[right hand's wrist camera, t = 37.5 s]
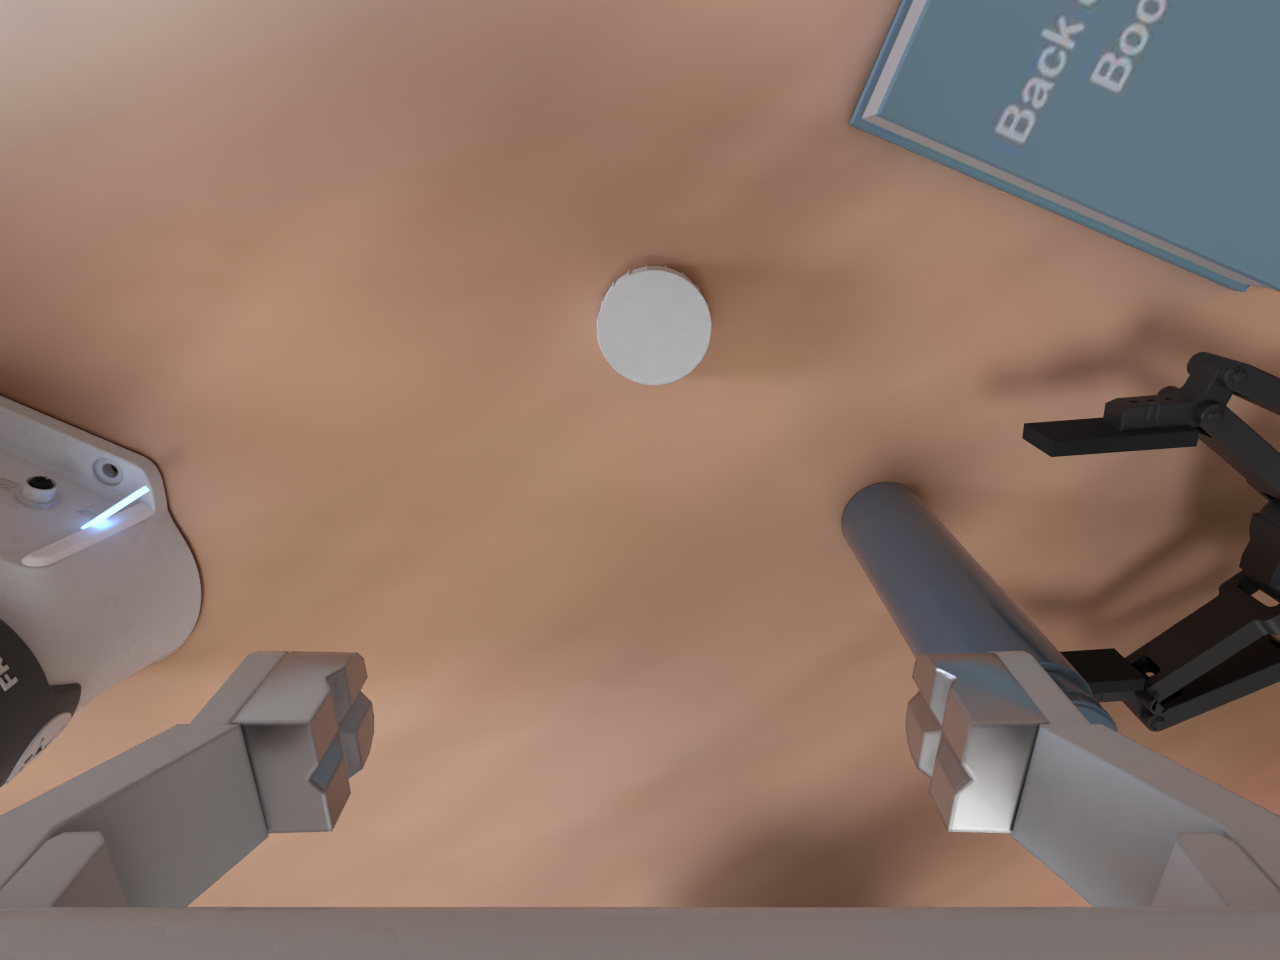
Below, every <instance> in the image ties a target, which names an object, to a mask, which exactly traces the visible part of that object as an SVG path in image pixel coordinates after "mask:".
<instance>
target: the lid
mask: <svg viewBox="0 0 1280 960" xmlns="http://www.w3.org/2000/svg"><path fill="white" fill-rule="evenodd" d="M699 290H700V289H699V287H698V285H697V284H696V285H695V284H694V283H693V282H692V281H691V280H690V279H689V278H687V277H686V276H685V274H684V273H683V272H682V273H680V272H678V271H676V270H673V269H671V268H667V266H665V265H664V267H663V266H648V265H646V267H640V268H637V269H634V270H632V271H630V270H629V271H628V272H627V273H626V274H625V275H623V276H622V277H620V278H619V279H618V280H617V281H616V282H613V283H612V286H611V288H610V289H609V291H608V292H607V294H606V296H605V297H603V298H602V301H601V303H602V306H601V309H600V312H599V315H598V317H597V320H596V322H597V334H598V339H597V340H598V341H599V344H600V347H601V350H602V352H603V354H604V356H605V358H606V359H607V361H608V362H609V364H610V365H611V366H612V367H613V368H614V369H615V370H616V371H617V372H618V373H619V374H621V375H622V376H624V377H625V378H627V379H629V380H631V381H634V382H637V383H640V384H645V385H663V384H668V383H671V382H674V381H677V380H679V379H681V378H683V377H684V376H686V375H687V374H689V373H690V372H691V371H692V370H693V369H694V368H695V367H696V366H697V365H698V364H699V363H700V361H701V360H702V359H703V357H704V355H705V353H706V351H707V349H708V346H709V344H710V339H711V331H712V322H711V315H710V312H709V308H708V307H709V305H708V303H707V301H705V299H704V298H703V296H702V294H701V293H700V291H699Z"/></svg>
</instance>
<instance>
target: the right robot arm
mask: <svg viewBox="0 0 1280 960" xmlns="http://www.w3.org/2000/svg"><path fill="white" fill-rule="evenodd" d="M111 464H112V465H114V466H115V467H116V468H117V470H118V473H117V472H115V471H114V470H113V469H112V467H111ZM200 606H201V583H200V577H199V572H198V569H197V566H196V563H195V560H194V557H193V555H192V553H191V551H190V549H189V547H188V545H187V543H186V541H185V540H184V538H183V536H182V535H181V533H180V532H179V530H178V528H177V527H176V525H175V523H174V522H173V520H172V518H171V516H170V514H169V511H168V507H167V501H166V495H165V489H164V485H163V481H162V477H161V475H160V472H159V470H158V469H157V467H156V466H155V465H154V463H152V462H151V461H150V460H149V459H147V458H145V457H144V456H141V455H139V454H137V453H135V452H132V451H130V450H127V449H125V448H123V447H120V446H118V445H116V444H113V443H111V442H109V441H106V440H104V439H102V438H99V437H97V436H94V435H92V434H90V433H87V432H85V431H83V430H80V429H78V428H76V427H73V426H71V425H69V424H66V423H64V422H61V421H59V420H57V419H54V418H52V417H50V416H47V415H45V414H43V413H40V412H38V411H36V410H33V409H31V408H28V407H26V406H24V405H21V404H19V403H17V402H14V401H12V400H10V399H7V398H5V397H2V396H0V787H1V786H3V785H4V784H5V783H6V784H8V783H9V782H10V781H11V780H13V779H14V778H15V777H16V776H17V775H18V774H19V773H20V772H21V771H22V770H23V769H25V768H26V767H27V766H28V765H29V764H30V763H31V762H32V761H33V760H34V759H35V758H36V757H37V756H38V755H39V754H40V753H41V752H42V751H43V750H44V749H45V748H47V747H48V746H49V745H50V744H51V743H52V742H53V741H54V740H55V739H56V738H57V737H58V736H59V735H60V733H61V732H62V731H63V730H64V729H65V728H66V726H67V725H68V723H69V722H70V720H71V718H72V716H73V715H74V713H76V712H77V711H78V710H79V709H81V708H82V707H83V706H85V705H86V704H88V703H89V702H90V701H92V700H93V699H95V698H96V697H98V696H99V695H100V694H102V693H103V692H105V691H106V690H108V689H109V688H111V687H112V686H114V685H115V684H117V683H118V682H120V681H122V680H123V679H125V678H127V677H128V676H130V675H132V674H133V673H135V672H137V671H139V670H141V669H143V668H145V667H147V666H149V665H151V664H153V663H156V662H158V661H160V660H162V659H164V658H166V657H167V656H169V655H170V654H172V653H173V652H174V651H176V650H177V649H178V648H179V647H180V646H181V645H182V644H183V643H184V642H185V641H186V640H187V638H188V637H189V635H190V634H191V632H192V630H193V629H194V626H195V624H196V622H197V619H198V616H199V612H200ZM366 679H367V672H366V667H365V663H364V658H363V657H362V656H361V655H360V654H358V653H345V652H298V651H292V652H287V651H257V652H254V653H252V654H249V655H248V656H247V657H246V658H245V659H244V661H243V662H242V663H241V664H240V665H239V666H238V668H237V669H236V670H235V671H234V672H233V673H232V675H231V676H230V677H229V678H228V679H227V680H226V682H225V683H224V684H223V685H222V686H221V687H220V689H219V690H218V691H217V692H216V693H215V695H214V696H213V697H212V698H211V699H210V700H209V702H208V703H207V704H206V705H205V706H204V707H203V709H202V710H201V711H200V712H199V713H198V714H197V716H196V717H195V718H194V719H193V720H192V722H191V723H190V724H178V725H176V726H174V727H172V728H170V729H168V730H166V731H164V732H162V733H160V734H158V735H156V736H154V737H152V738H150V739H148V740H147V741H145V742H143V743H141V744H139V745H137V746H135V747H133V748H131V749H129V750H127V751H125V752H123V753H121V754H119V755H117V756H115V757H114V758H112V759H110V760H108V761H106V762H104V763H102V764H100V765H98V766H96V767H94V768H92V769H90V770H88V771H86V772H84V773H83V774H81V775H79V776H77V777H75V778H73V779H71V780H69V781H67V782H65V783H63V784H61V785H59V786H57V787H55V788H53V789H52V790H50V791H48V792H46V793H44V794H42V795H40V796H38V797H36V798H34V799H32V800H30V801H28V802H26V803H24V804H22V805H21V806H19V807H17V808H15V809H13V810H11V811H9V812H7V813H5V814H3V815H1V816H0V960H1280V816H1278V815H1276V814H1274V813H1273V812H1271V811H1269V810H1267V809H1265V808H1263V807H1261V806H1259V805H1257V804H1255V803H1253V802H1251V801H1249V800H1247V799H1245V798H1244V797H1242V796H1240V795H1238V794H1236V793H1234V792H1232V791H1230V790H1228V789H1226V788H1224V787H1222V786H1220V785H1218V784H1217V783H1215V782H1213V781H1211V780H1209V779H1207V778H1205V777H1203V776H1201V775H1199V774H1197V773H1195V772H1193V771H1191V770H1189V769H1188V768H1186V767H1184V766H1182V765H1180V764H1178V763H1176V762H1174V761H1172V760H1170V759H1168V758H1166V757H1164V756H1162V755H1160V754H1159V753H1157V752H1155V751H1153V750H1151V749H1149V748H1147V747H1145V746H1143V745H1141V744H1139V743H1137V742H1135V741H1133V740H1131V739H1130V738H1128V737H1126V736H1124V735H1122V734H1120V733H1118V732H1116V731H1114V730H1112V729H1110V728H1108V727H1106V726H1104V725H1102V724H1090V723H1089V722H1088V720H1087V719H1086V718H1085V717H1084V716H1083V715H1082V713H1081V712H1080V711H1079V710H1078V709H1077V707H1076V706H1075V705H1074V704H1073V703H1072V702H1071V700H1070V699H1069V698H1068V697H1067V696H1066V695H1065V693H1064V692H1063V691H1062V690H1061V689H1060V688H1059V686H1058V685H1057V684H1056V683H1055V682H1054V681H1053V679H1052V678H1051V677H1050V676H1049V675H1048V674H1047V672H1046V671H1045V670H1044V669H1043V668H1042V666H1041V665H1040V664H1039V663H1038V662H1037V661H1036V659H1035V658H1034V657H1033V656H1032V655H1031V654H1029V653H1027V652H1025V651H1001V652H988V653H928V654H919V656H918V658H917V660H916V662H915V666H914V671H913V679H914V681H915V683H916V685H917V686H918V688H919V690H920V691H919V692H918V693H917V694H916V695H915V696H914V697H913V698H912V699H911V700H910V701H909V702H908V707H907V715H906V731H907V742H908V745H909V749H910V752H911V755H912V758H913V760H914V762H915V764H916V766H917V769H919V770H920V771H922V772H923V773H924V774H926V775H927V776H929V777H930V778H931V779H932V780H931V786H930V791H929V794H930V796H931V798H932V800H933V802H934V804H935V806H936V808H937V810H938V812H939V814H940V816H941V818H942V820H943V822H944V824H945V826H946V828H947V830H948V831H951V832H986V833H1012V835H1011V836H1012V837H1013V838H1014V839H1015V840H1016V841H1018V842H1019V843H1020V844H1021V845H1022V846H1023V847H1025V848H1026V849H1027V850H1028V851H1029V852H1030V853H1032V854H1033V855H1034V856H1035V857H1036V858H1037V859H1039V860H1040V861H1041V862H1042V863H1043V864H1044V865H1046V866H1047V867H1048V868H1049V869H1050V870H1051V871H1053V872H1054V873H1055V874H1056V875H1057V876H1058V877H1060V878H1061V879H1062V880H1063V881H1064V882H1065V883H1067V884H1068V885H1069V886H1070V887H1071V888H1072V889H1074V890H1075V891H1076V892H1077V893H1078V894H1079V895H1081V896H1082V897H1083V898H1084V899H1085V900H1086V901H1088V902H1089V903H1090V904H1091V905H1092V906H1093V907H187V906H188V905H189V904H190V903H191V902H193V901H194V900H195V899H196V898H197V897H198V896H200V895H201V894H202V893H203V892H204V891H205V890H207V889H208V888H209V887H210V886H211V885H212V884H214V883H215V882H216V881H217V880H218V879H220V878H221V877H222V876H223V875H224V874H225V873H227V872H228V871H229V870H230V869H231V868H232V867H234V866H235V865H236V864H237V863H238V862H239V861H241V860H242V859H243V858H244V857H245V856H246V855H248V854H249V853H250V852H251V851H252V850H253V849H255V848H256V847H257V846H258V845H259V844H260V843H262V842H263V841H264V840H265V839H266V838H268V833H293V832H328V831H333V828H334V826H335V824H336V822H337V820H338V818H339V816H340V814H341V812H342V810H343V808H344V806H345V804H346V802H347V800H348V798H349V796H350V794H351V791H350V786H349V780H348V779H349V778H350V777H351V776H353V775H354V774H356V773H357V772H358V771H360V770H361V769H363V766H364V764H365V762H366V760H367V758H368V755H369V753H370V749H371V744H372V739H373V734H374V713H373V707H372V702H371V701H370V700H369V699H368V698H367V697H366V696H365V695H364V694H363V693H362V692H361V691H360V690H361V688H362V686H363V685H364V683H365V681H366Z"/></svg>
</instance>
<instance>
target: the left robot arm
mask: <svg viewBox="0 0 1280 960" xmlns="http://www.w3.org/2000/svg"><path fill="white" fill-rule="evenodd" d="M1187 371H1188V373H1189V374H1190V375H1189V377H1188V379H1187V381H1186V382H1185V384H1184V385H1183V386H1182V387H1181V388H1177V387H1174V386H1168V387H1165V388H1163V389H1162V390H1160V391H1159V393H1158V394H1157V395H1153V396H1140V397H1131V398H1129V397H1127V398H1116V399H1114V400H1112V401H1109V402H1107V403H1106V404H1105V411H1104V417H1103V418H1092V419H1079V420H1065V421H1052V422H1039V423H1026V424H1024V430H1023V439H1025V440H1026V441H1028V442H1029V443H1031V444H1032V445H1034V446H1035V447H1037V448H1038V449H1040V450H1042V451H1043V452H1045V453H1046V454H1048V455H1049V456H1051V457H1057V456H1070V455H1084V454H1097V453H1111V452H1124V451H1138V450H1151V449H1165V448H1178V447H1192V446H1196V445H1197V440H1198V438H1199V439H1200V440H1202V441H1203V442H1204V443H1205V444H1206V445H1207V446H1209V447H1210V448H1211V449H1212V450H1213V451H1214V452H1216V453H1217V454H1218V455H1219V456H1220V457H1221V458H1223V459H1224V460H1225V461H1226V462H1227V463H1228V464H1230V465H1231V466H1232V467H1233V468H1234V469H1235V470H1237V471H1238V472H1239V473H1240V474H1241V475H1242V476H1243V477H1245V478H1246V479H1247V480H1246V482H1247V483H1248V484H1249V485H1251V486H1252V487H1253V488H1254V489H1255V490H1256V491H1258V492H1259V493H1260V494H1261V495H1262V496H1263V497H1265V498H1266V499H1267V500H1268V501H1269V502H1268V503H1267V504H1266V505H1265V506H1264V507H1263V508H1262V510H1261V511H1260V513H1253V515H1252V519H1251V523H1250V527H1249V528H1250V541H1249V543H1248V545H1247V547H1246V549H1245V551H1244V552H1243V554H1242V558H1241V562H1240V566H1239V567H1240V568H1241V569H1243V570H1242V571H1241V572H1239V573H1238V574H1236V575H1235V576H1233V577H1232V578H1230V579H1229V580H1227V581H1226V582H1224V583H1223V584H1222V585H1221V586H1220V587H1219V595H1218V596H1217V597H1216V598H1214V599H1213V600H1211V601H1210V602H1208V603H1207V604H1205V605H1204V606H1202V607H1201V608H1199V609H1198V610H1196V611H1195V612H1193V613H1192V614H1190V615H1189V616H1187V617H1186V618H1184V619H1183V620H1181V621H1180V622H1178V623H1177V624H1175V625H1174V626H1172V627H1171V628H1169V629H1168V630H1166V631H1165V632H1163V633H1162V634H1160V635H1159V636H1157V637H1156V638H1154V639H1153V640H1151V641H1150V642H1148V643H1147V644H1145V645H1144V646H1142V647H1141V648H1139V649H1138V650H1136V651H1135V652H1133V653H1132V654H1130V655H1129V656H1127V657H1126V658H1124V657H1123V656H1122V655H1120V654H1119V653H1118V652H1117V651H1116V650H1115V649H1114V648H1113V649H1098V650H1083V651H1067V652H1060V653H1061V654H1062V655H1063V656H1064V657H1065V658H1066V660H1067V661H1068V662H1069V663H1070V664H1071V665H1072V666H1073V667H1074V668H1075V669H1076V671H1077V672H1078V673H1079V674H1080V675H1081V676H1082V677H1083V678H1084V679H1085V681H1086V682H1087V683H1088V685H1089V687H1090V689H1091V691H1092V695H1093V698H1094V699H1096V700H1097V701H1098V702H1111V701H1123V702H1124V703H1125V704H1126V706H1127V707H1128V708H1129V709H1130V710H1131V711H1132V712H1133V713H1134V714H1135V715H1136V716H1137V717H1138V718H1139V719H1140V720H1141V722H1142V723H1143V724H1144V725H1145V726H1146V727H1147V728H1148V729H1149V730H1151V731H1161V730H1164V729H1166V728H1168V727H1171V726H1173V725H1176V724H1178V723H1180V722H1183V721H1185V720H1188V719H1190V718H1192V717H1195V716H1197V715H1200V714H1202V713H1204V712H1207V711H1209V710H1212V709H1214V708H1217V707H1219V706H1221V705H1224V704H1226V703H1229V702H1231V701H1233V700H1236V699H1238V698H1241V697H1243V696H1245V695H1248V694H1250V693H1253V692H1255V691H1257V690H1260V689H1262V688H1265V687H1267V686H1270V685H1272V684H1274V683H1277V682H1279V681H1280V604H1278V605H1277V606H1274V607H1268V606H1265V605H1264V604H1262V603H1261V602H1259V601H1258V600H1256V599H1255V598H1253V597H1252V596H1251V595H1252V594H1253V593H1255V592H1256V591H1258V590H1259V589H1260V590H1261V591H1263V592H1264V593H1266V594H1267V595H1269V596H1270V597H1272V598H1273V599H1275V600H1276V601H1278V602H1279V603H1280V453H1279V452H1277V451H1276V450H1275V449H1274V448H1273V447H1272V446H1271V445H1269V444H1268V443H1267V442H1266V441H1265V440H1264V439H1263V438H1262V437H1260V436H1259V435H1258V434H1257V433H1256V432H1255V431H1254V430H1253V429H1251V428H1250V427H1249V426H1248V425H1247V424H1246V423H1245V422H1244V421H1242V420H1241V419H1240V418H1239V417H1238V416H1237V415H1236V414H1234V413H1233V412H1232V411H1231V410H1230V409H1229V408H1228V407H1227V406H1226V404H1227V403H1228V401H1229V399H1230V397H1231V396H1232V394H1233V395H1236V396H1238V397H1240V398H1242V399H1244V400H1247V401H1249V402H1251V403H1253V404H1256V405H1258V406H1260V407H1262V408H1265V409H1267V410H1269V411H1271V412H1274V413H1276V414H1278V415H1280V378H1278V377H1275V376H1273V375H1271V374H1269V373H1267V372H1264V371H1262V370H1260V369H1258V368H1256V367H1253V366H1251V365H1249V364H1246V363H1242V362H1239V361H1236V360H1232V359H1229V358H1225V357H1222V356H1218V355H1215V354H1211V353H1207V352H1200V353H1197V354H1195V355H1194V356H1193V357H1192V358H1191V359H1190V360H1189V362H1188V364H1187ZM1147 672H1152V673H1154V674H1155V675H1153V676H1150V677H1148V676H1147V675H1146V674H1145V673H1147Z"/></svg>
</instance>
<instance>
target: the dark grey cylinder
mask: <svg viewBox="0 0 1280 960" xmlns="http://www.w3.org/2000/svg"><path fill="white" fill-rule="evenodd" d="M842 531H843V535H844V537H845V539H846V541H847V543H848V544H849V546H850V548H851V549H852V551H853V553H854V554H855V556H856V558H857V560H858V561H859V563H860V565H861V566H862V568H863V570H864V571H865V573H866V575H867V576H868V578H869V580H870V581H871V583H872V585H873V587H874V588H875V590H876V592H877V593H878V595H879V597H880V598H881V600H882V602H883V603H884V605H885V607H886V609H887V610H888V612H889V614H890V615H891V617H892V619H893V620H894V622H895V624H896V625H897V627H898V629H899V630H900V632H901V634H902V636H903V637H904V639H905V641H906V642H907V644H908V646H909V647H910V649H911V651H912V652H913V654H914V656H915V658H916V659H917V658H918V656H919V654H928V653H988V652H1001V651H1025V652H1027V653H1029V654H1031V655H1032V656H1033V657H1034V658H1035V659H1036V661H1037V662H1038V663H1039V664H1040V665H1041V666H1042V668H1043V669H1044V670H1045V671H1046V672H1047V674H1048V675H1049V676H1050V677H1051V678H1052V679H1053V681H1054V682H1055V683H1056V684H1057V685H1058V686H1059V688H1060V689H1061V690H1062V691H1063V692H1064V693H1065V695H1066V696H1067V697H1068V698H1069V699H1070V700H1071V702H1072V703H1073V704H1074V705H1075V706H1076V707H1077V709H1078V710H1079V711H1080V712H1081V713H1082V715H1083V716H1084V717H1085V718H1086V719H1087V720H1088V722H1089V723H1090V724H1102V725H1104V726H1106V727H1108V728H1110V729H1112V730H1114V731H1116V732H1118V731H1117V728H1116V725H1115V724H1116V723H1115V722H1114V721H1113V719H1112V718H1111V717H1110V715H1109V714H1108V713H1107V712H1106V710H1104V709H1103V708H1102V707H1101V705H1100V704H1099V703H1098V701H1097V700H1096V699H1094V698H1093V695H1092V691H1091V689H1090V687H1089V685H1088V683H1087V682H1086V681H1085V679H1084V678H1083V677H1082V676H1081V675H1080V674H1079V673H1078V672H1077V671H1076V669H1075V668H1074V667H1073V666H1072V665H1071V664H1070V663H1069V662H1068V661H1067V660H1066V658H1065V657H1064V656H1063V655H1062V654H1061V653H1060V652H1059V651H1058V650H1057V649H1056V648H1055V646H1054V645H1053V644H1052V643H1051V642H1050V641H1049V640H1048V639H1047V638H1046V637H1045V635H1044V634H1043V633H1042V632H1041V631H1040V630H1039V629H1038V628H1037V627H1036V626H1035V624H1034V623H1033V622H1032V621H1031V620H1030V619H1029V618H1028V617H1027V616H1026V615H1025V614H1024V612H1023V611H1022V610H1021V609H1020V608H1019V607H1018V606H1017V605H1016V604H1015V603H1014V601H1013V600H1012V599H1011V598H1010V597H1009V596H1008V595H1007V594H1006V593H1005V592H1004V590H1003V589H1002V588H1001V587H1000V586H999V585H998V584H997V583H996V582H995V581H994V579H993V578H992V577H991V576H990V575H989V574H988V573H987V572H986V571H985V570H984V569H983V567H982V566H981V565H980V564H979V563H978V562H977V561H976V560H975V559H974V558H973V556H972V555H971V554H970V553H969V552H968V551H967V550H966V549H965V548H964V547H963V545H962V544H961V543H960V542H959V541H958V540H957V539H956V538H955V537H954V536H953V535H952V533H951V532H950V531H949V530H948V529H947V528H946V527H945V526H944V525H943V524H942V522H941V521H940V520H939V519H938V518H937V517H936V516H935V515H934V514H933V513H932V511H931V510H930V509H929V508H928V507H927V506H926V505H925V504H924V503H923V502H922V501H921V499H920V498H919V497H918V496H917V495H916V494H915V493H914V492H913V491H912V490H911V489H909V488H907V487H905V486H903V485H900V484H897V483H879V484H874V485H872V486H869V487H867V488H865V489H863V490H862V491H860V492H859V493H857V494H856V495H855V496H854V497H853V498H852V499H851V500H850V502H849V503H848V505H847V506H846V508H845V511H844V513H843V517H842Z"/></svg>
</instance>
